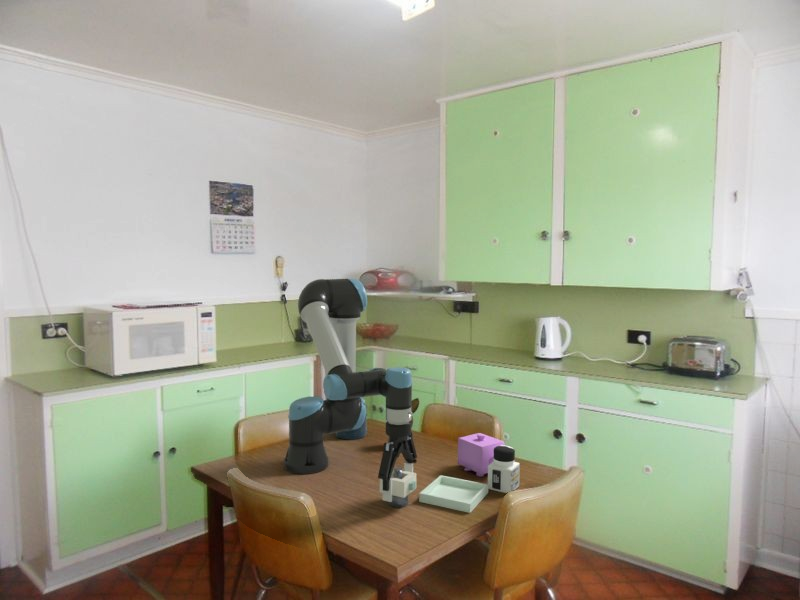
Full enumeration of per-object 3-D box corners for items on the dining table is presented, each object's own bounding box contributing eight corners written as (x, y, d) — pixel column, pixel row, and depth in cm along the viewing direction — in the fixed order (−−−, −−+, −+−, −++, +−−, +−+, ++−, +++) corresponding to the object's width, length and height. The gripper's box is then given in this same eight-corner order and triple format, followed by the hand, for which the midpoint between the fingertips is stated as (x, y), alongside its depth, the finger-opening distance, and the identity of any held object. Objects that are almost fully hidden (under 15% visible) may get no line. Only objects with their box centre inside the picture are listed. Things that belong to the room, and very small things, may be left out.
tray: (419, 501, 171) (419, 493, 171) (440, 483, 185) (440, 475, 185) (470, 512, 163) (470, 504, 163) (488, 492, 178) (488, 484, 177)
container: (510, 494, 176) (511, 453, 175) (487, 489, 180) (487, 448, 179) (519, 486, 183) (520, 446, 182) (496, 481, 187) (497, 442, 186)
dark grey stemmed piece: (384, 505, 168) (384, 469, 167) (393, 497, 174) (394, 462, 173) (402, 509, 165) (402, 472, 165) (411, 501, 171) (412, 466, 170)
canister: (369, 430, 240) (369, 389, 239) (364, 440, 227) (364, 396, 226) (338, 429, 241) (338, 388, 240) (332, 439, 229) (331, 395, 227)
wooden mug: (424, 446, 221) (425, 400, 220) (394, 452, 214) (394, 404, 213) (412, 440, 229) (412, 395, 227) (382, 445, 221) (382, 399, 220)
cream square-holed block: (379, 492, 167) (379, 477, 167) (392, 483, 175) (392, 468, 174) (407, 498, 163) (408, 483, 163) (420, 488, 170) (420, 473, 170)
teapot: (453, 466, 200) (453, 430, 199) (474, 460, 206) (475, 426, 205) (493, 484, 184) (494, 446, 183) (515, 477, 190) (516, 440, 189)
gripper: (389, 434, 155) (389, 511, 156) (428, 412, 177) (427, 480, 179) (365, 430, 158) (365, 505, 160) (406, 409, 180) (405, 475, 182)
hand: (398, 492), depth 169 cm, fingers open, 13 cm apart
